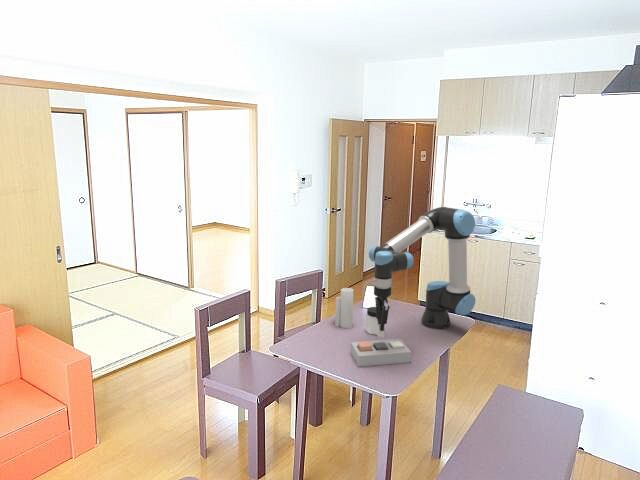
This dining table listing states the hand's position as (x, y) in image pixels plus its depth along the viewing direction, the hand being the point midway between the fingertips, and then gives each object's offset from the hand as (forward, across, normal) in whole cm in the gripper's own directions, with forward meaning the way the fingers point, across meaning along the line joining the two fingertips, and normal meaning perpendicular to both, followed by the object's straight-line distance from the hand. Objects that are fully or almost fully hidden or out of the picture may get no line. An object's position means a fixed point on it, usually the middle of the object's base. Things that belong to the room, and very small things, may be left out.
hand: (380, 336), depth 213 cm
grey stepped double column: (+11, -40, -8) cm, 42 cm away
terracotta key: (+5, 0, -7) cm, 9 cm away
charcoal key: (+6, 0, 0) cm, 6 cm away
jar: (+11, -28, +6) cm, 31 cm away
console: (+10, 0, 0) cm, 10 cm away
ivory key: (+6, 0, +8) cm, 10 cm away
